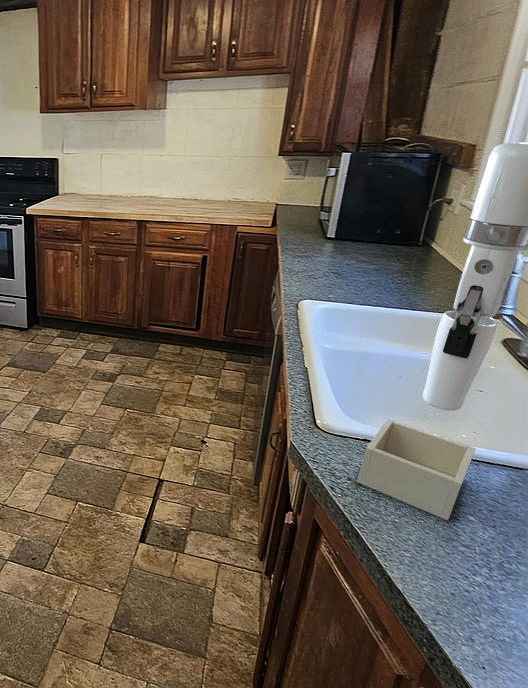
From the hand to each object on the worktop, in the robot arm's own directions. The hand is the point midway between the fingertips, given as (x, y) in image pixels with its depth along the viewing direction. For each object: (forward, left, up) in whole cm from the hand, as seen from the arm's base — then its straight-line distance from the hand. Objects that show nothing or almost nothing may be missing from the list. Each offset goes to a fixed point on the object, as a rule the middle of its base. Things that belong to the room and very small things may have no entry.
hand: (460, 347), depth 82 cm
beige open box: (0, +2, -25) cm, 25 cm away
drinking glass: (0, 0, -10) cm, 10 cm away
